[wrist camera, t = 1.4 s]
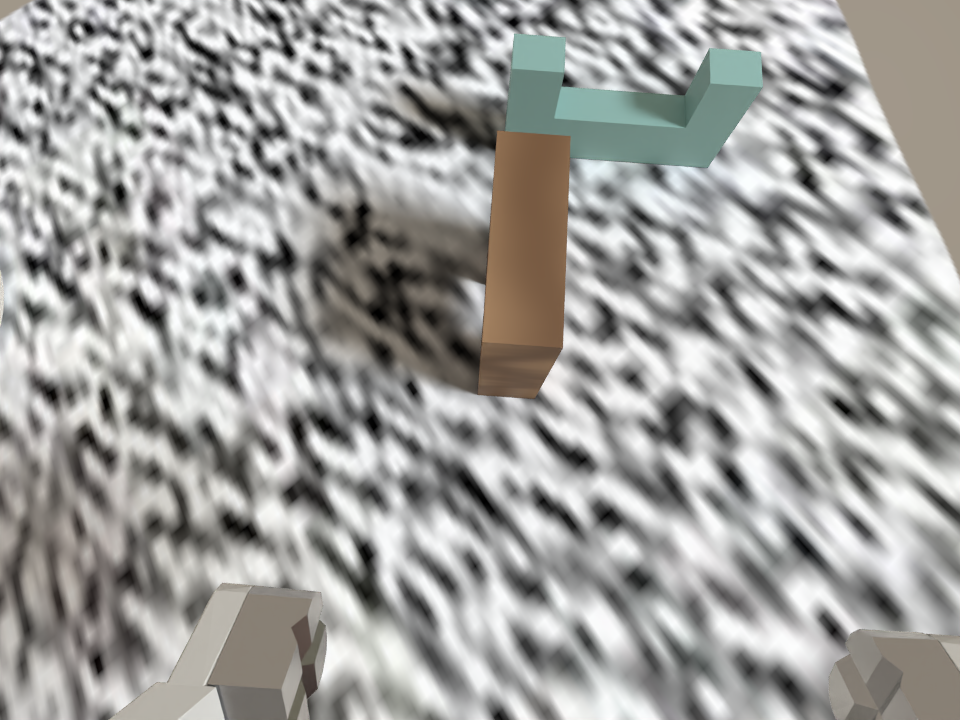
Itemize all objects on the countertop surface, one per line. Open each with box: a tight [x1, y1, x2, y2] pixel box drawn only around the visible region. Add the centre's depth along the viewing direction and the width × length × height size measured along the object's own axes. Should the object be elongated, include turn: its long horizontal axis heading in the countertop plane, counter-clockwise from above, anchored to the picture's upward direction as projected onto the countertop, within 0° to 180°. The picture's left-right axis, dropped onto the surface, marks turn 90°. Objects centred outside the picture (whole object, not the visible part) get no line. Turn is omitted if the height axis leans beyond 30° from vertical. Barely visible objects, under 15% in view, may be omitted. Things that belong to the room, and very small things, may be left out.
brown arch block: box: [478, 131, 571, 399], centre depth 29 cm, size 3×9×10 cm, turn 176°
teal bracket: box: [505, 34, 763, 168], centre depth 33 cm, size 12×2×7 cm, turn 86°
